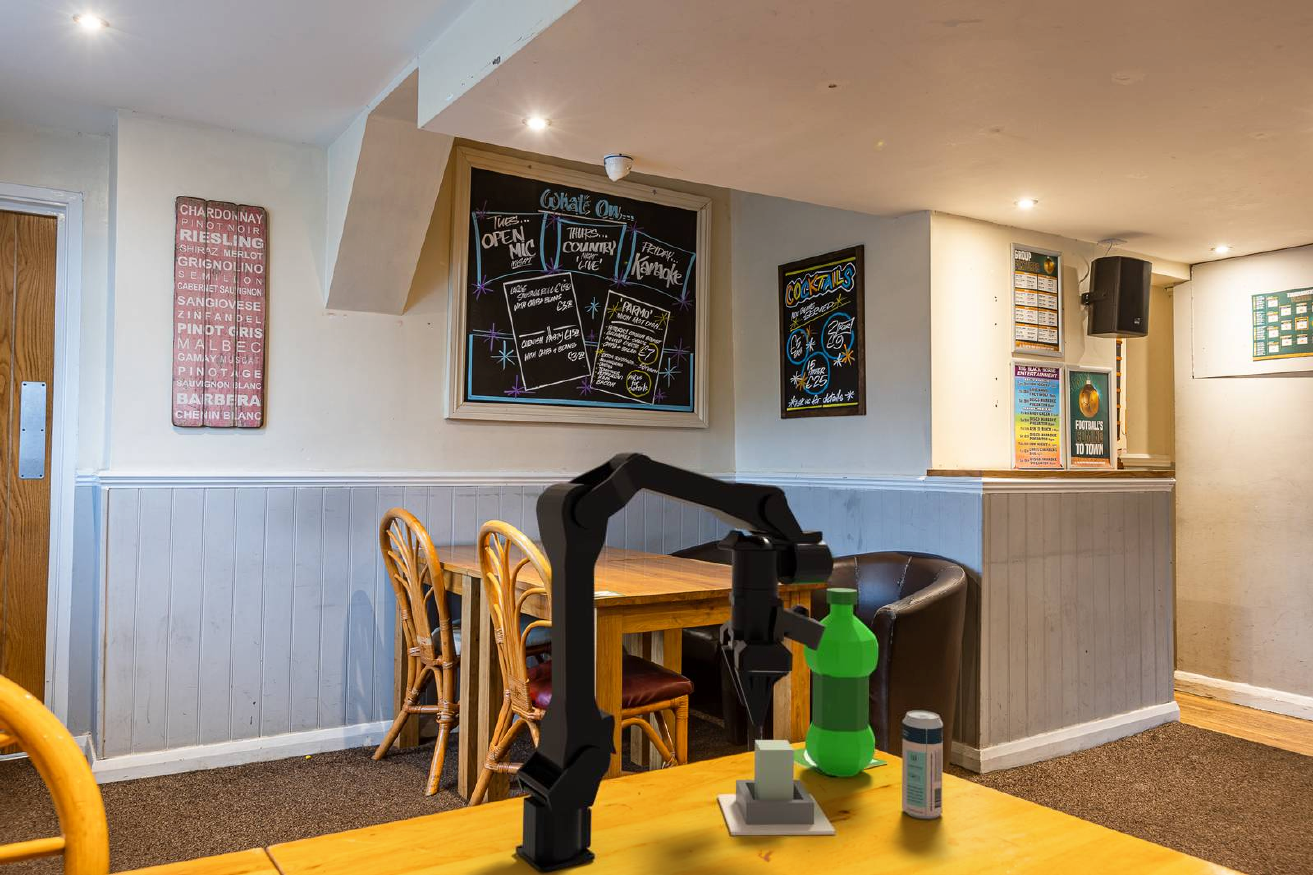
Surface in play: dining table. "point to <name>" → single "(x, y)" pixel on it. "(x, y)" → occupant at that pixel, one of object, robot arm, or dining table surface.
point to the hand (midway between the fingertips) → (752, 715)
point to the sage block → (773, 770)
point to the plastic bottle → (841, 690)
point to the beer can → (922, 764)
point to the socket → (773, 813)
